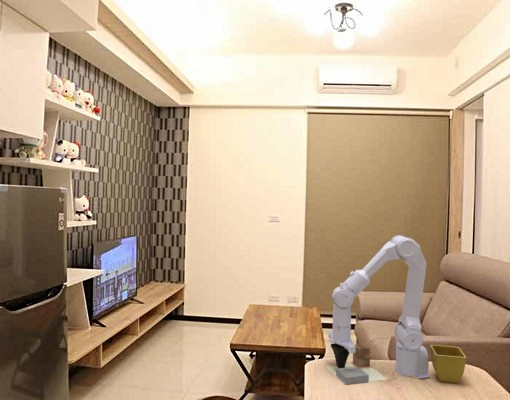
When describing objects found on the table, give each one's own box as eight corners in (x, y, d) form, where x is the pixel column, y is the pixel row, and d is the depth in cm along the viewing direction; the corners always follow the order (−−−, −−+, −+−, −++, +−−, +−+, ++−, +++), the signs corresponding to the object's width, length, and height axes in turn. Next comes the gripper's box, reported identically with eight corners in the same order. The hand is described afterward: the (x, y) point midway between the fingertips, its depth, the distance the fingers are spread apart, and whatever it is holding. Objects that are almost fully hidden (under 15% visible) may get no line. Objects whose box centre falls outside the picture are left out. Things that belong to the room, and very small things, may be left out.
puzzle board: (363, 363, 144) (363, 360, 144) (387, 382, 130) (387, 378, 130) (323, 368, 140) (323, 364, 140) (344, 387, 126) (344, 383, 126)
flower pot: (466, 387, 128) (466, 357, 127) (435, 384, 129) (435, 354, 129) (458, 374, 136) (459, 346, 136) (429, 372, 138) (430, 344, 138)
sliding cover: (357, 372, 134) (357, 366, 134) (368, 381, 128) (368, 374, 128) (336, 375, 132) (336, 368, 132) (346, 384, 126) (346, 377, 126)
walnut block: (363, 361, 143) (363, 343, 142) (369, 366, 139) (370, 348, 139) (352, 362, 141) (353, 344, 141) (358, 367, 138) (359, 349, 138)
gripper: (320, 319, 142) (319, 359, 142) (341, 333, 128) (340, 378, 129) (339, 318, 144) (338, 357, 144) (361, 331, 130) (361, 375, 131)
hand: (340, 367), depth 137 cm, fingers closed
